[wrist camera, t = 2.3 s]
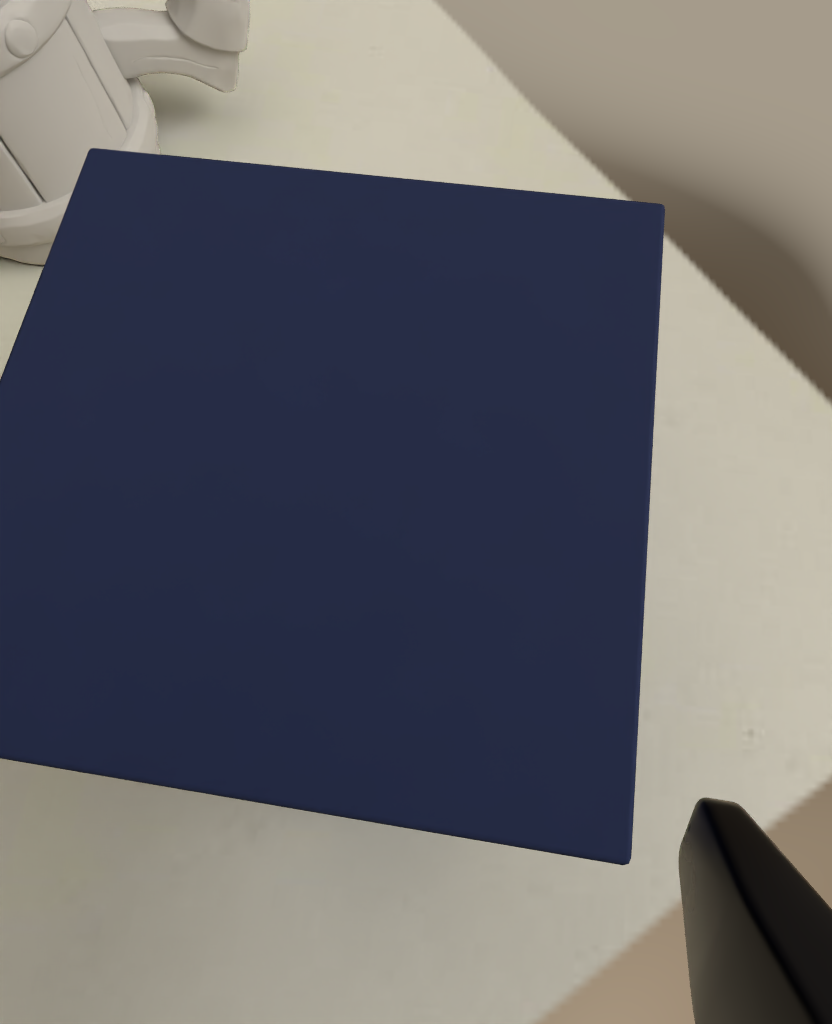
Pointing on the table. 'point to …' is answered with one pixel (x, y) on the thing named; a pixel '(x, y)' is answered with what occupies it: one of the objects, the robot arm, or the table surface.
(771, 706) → the table surface
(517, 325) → the navy blue box
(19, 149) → the mug
